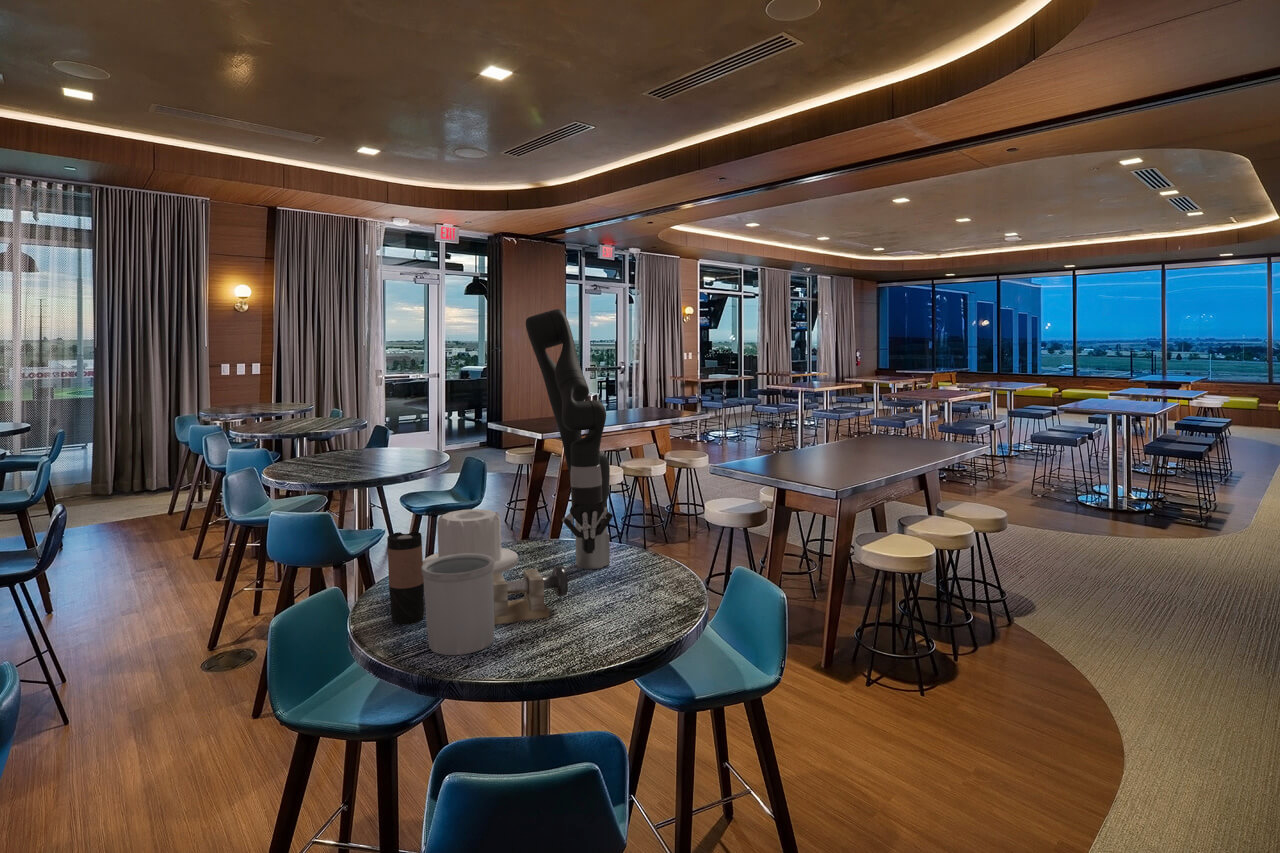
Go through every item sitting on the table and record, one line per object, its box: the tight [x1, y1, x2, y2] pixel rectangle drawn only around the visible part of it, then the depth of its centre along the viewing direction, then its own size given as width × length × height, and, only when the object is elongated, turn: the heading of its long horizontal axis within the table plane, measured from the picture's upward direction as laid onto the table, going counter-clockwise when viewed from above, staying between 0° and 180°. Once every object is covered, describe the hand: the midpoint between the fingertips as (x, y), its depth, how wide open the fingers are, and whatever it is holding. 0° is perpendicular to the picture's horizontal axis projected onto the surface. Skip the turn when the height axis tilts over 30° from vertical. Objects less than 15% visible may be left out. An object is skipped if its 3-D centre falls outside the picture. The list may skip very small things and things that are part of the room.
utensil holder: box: [421, 553, 495, 656], centre depth 146 cm, size 15×15×18 cm
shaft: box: [506, 565, 569, 598], centre depth 163 cm, size 18×7×7 cm, turn 111°
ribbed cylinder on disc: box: [423, 508, 519, 574], centre depth 183 cm, size 25×25×19 cm
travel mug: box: [387, 530, 425, 625], centre depth 159 cm, size 8×8×20 cm
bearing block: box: [493, 568, 550, 626], centre depth 162 cm, size 13×10×9 cm
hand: (588, 552), depth 168 cm, fingers closed
